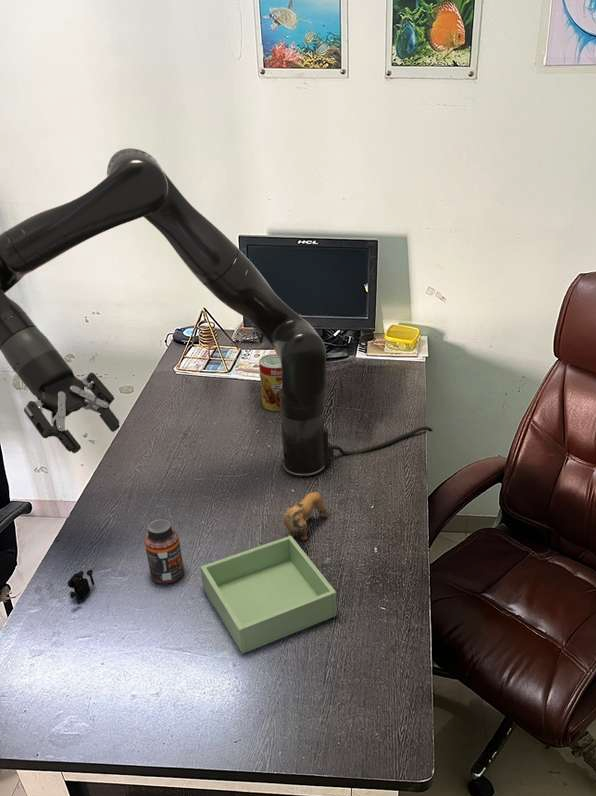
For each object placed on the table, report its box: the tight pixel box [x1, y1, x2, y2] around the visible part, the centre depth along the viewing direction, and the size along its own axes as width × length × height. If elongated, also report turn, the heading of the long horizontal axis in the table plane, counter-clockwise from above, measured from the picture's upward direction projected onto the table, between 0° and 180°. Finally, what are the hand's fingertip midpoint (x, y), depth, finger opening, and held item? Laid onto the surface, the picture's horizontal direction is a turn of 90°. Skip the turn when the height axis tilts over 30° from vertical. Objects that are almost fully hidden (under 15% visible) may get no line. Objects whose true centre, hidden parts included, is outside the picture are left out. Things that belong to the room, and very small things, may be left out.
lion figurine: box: [283, 491, 328, 541], centre depth 146 cm, size 15×5×9 cm, turn 163°
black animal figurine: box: [67, 569, 95, 605], centre depth 130 cm, size 7×2×5 cm, turn 168°
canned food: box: [258, 353, 282, 412], centre depth 186 cm, size 8×8×12 cm
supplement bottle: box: [144, 518, 185, 584], centre depth 133 cm, size 6×6×11 cm
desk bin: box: [200, 535, 337, 655], centre depth 130 cm, size 18×18×6 cm
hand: (97, 439), depth 127 cm, fingers open, 8 cm apart
